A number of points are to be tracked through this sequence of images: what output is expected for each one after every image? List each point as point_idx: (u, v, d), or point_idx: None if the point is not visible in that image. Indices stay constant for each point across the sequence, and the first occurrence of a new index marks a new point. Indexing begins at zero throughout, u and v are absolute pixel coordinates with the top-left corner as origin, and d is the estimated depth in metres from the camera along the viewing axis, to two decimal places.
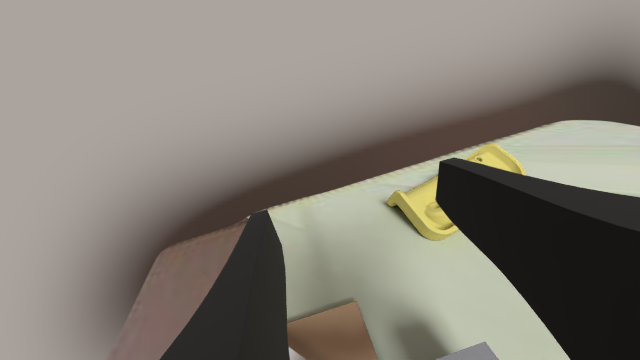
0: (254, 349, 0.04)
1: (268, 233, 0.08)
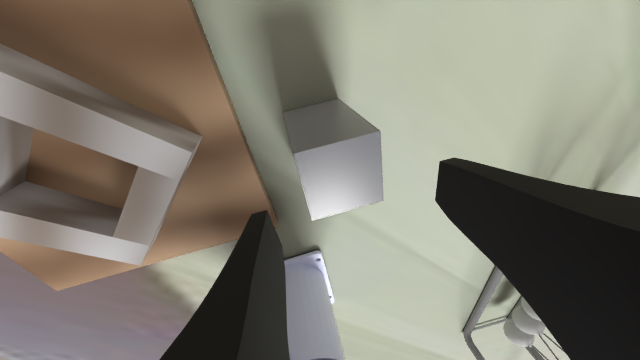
0: (254, 349, 0.04)
1: (268, 233, 0.08)
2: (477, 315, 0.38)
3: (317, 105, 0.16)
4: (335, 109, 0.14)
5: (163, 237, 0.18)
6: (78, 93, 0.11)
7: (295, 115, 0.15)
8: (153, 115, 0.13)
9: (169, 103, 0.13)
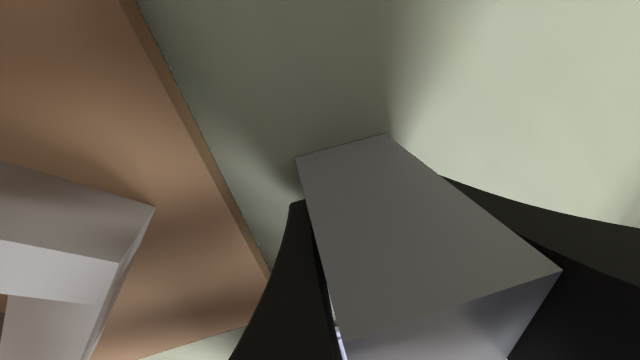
0: (329, 325, 0.05)
1: None
2: None
3: (353, 146, 0.09)
4: (393, 163, 0.08)
5: (109, 342, 0.12)
6: None
7: (318, 169, 0.08)
8: (56, 178, 0.07)
9: (84, 157, 0.07)
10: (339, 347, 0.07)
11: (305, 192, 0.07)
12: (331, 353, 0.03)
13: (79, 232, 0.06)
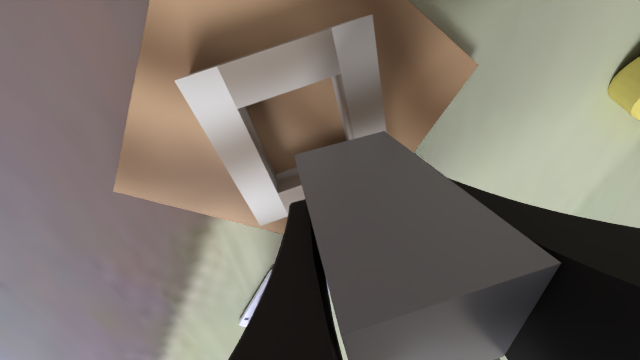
0: (328, 325, 0.05)
1: None
2: None
3: (352, 143, 0.09)
4: (392, 160, 0.08)
5: None
6: None
7: (317, 166, 0.08)
8: None
9: (386, 132, 0.17)
10: (339, 347, 0.07)
11: (304, 189, 0.07)
12: (330, 353, 0.03)
13: None
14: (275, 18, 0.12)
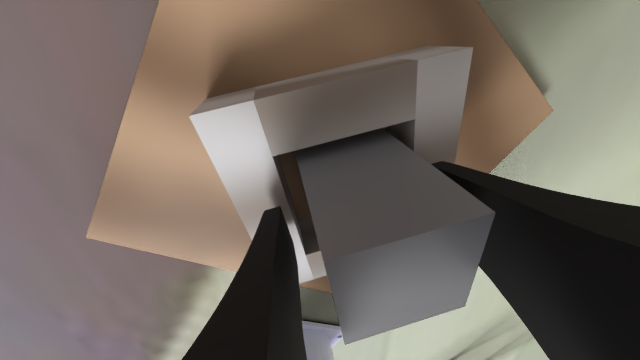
0: (279, 341, 0.05)
1: (283, 229, 0.08)
2: None
3: None
4: (377, 144, 0.09)
5: None
6: None
7: (312, 150, 0.09)
8: None
9: None
10: (305, 358, 0.07)
11: (300, 166, 0.08)
12: None
13: None
14: (330, 36, 0.09)
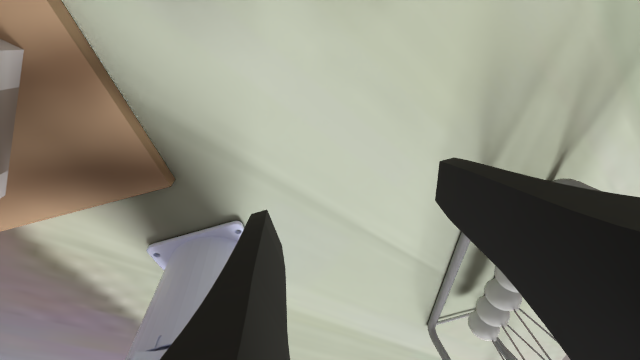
0: (254, 349, 0.04)
1: (268, 233, 0.08)
2: (439, 306, 0.35)
3: None
4: None
5: (16, 193, 0.14)
6: None
7: None
8: None
9: None
10: None
11: None
12: None
13: None
14: None
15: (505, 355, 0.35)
